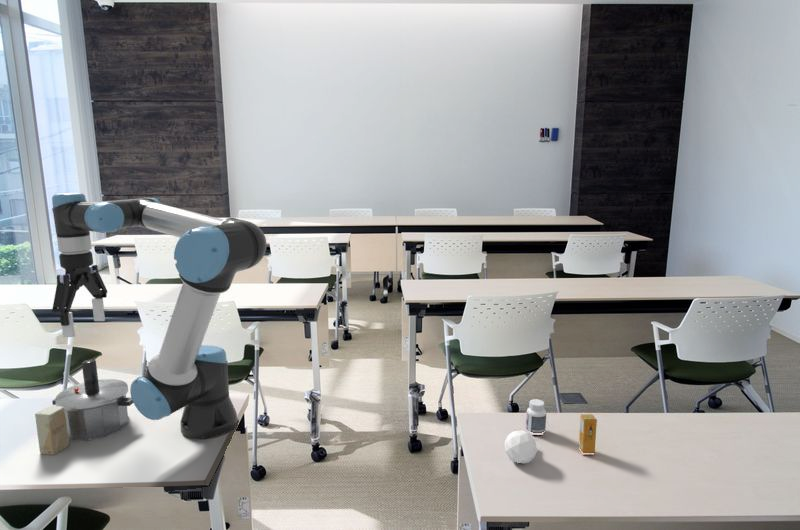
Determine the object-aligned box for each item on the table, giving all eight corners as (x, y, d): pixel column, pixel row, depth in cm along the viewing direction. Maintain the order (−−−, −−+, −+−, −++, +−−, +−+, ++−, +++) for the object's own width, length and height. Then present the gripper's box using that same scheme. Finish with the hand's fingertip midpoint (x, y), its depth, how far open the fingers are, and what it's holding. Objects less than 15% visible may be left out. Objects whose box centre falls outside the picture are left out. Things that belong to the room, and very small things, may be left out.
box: (53, 455, 134) (47, 415, 132) (39, 453, 135) (33, 414, 133) (70, 444, 139) (64, 406, 137) (56, 442, 140) (50, 404, 138)
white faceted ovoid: (495, 451, 130) (503, 434, 141) (521, 476, 128) (527, 456, 139) (515, 430, 128) (522, 414, 139) (542, 455, 126) (546, 436, 137)
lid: (139, 383, 156) (136, 350, 154) (106, 411, 138) (101, 375, 136) (81, 382, 156) (77, 350, 154) (40, 410, 139) (35, 374, 137)
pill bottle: (549, 433, 146) (551, 403, 144) (536, 438, 143) (538, 408, 141) (534, 425, 150) (536, 396, 148) (521, 430, 147) (523, 401, 145)
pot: (148, 412, 157) (145, 384, 155) (119, 440, 141) (115, 409, 139) (76, 411, 157) (72, 383, 155) (39, 439, 141) (34, 408, 140)
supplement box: (590, 448, 138) (593, 413, 136) (594, 455, 135) (597, 420, 132) (577, 448, 138) (580, 413, 136) (581, 455, 135) (584, 419, 133)
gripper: (89, 244, 151) (98, 314, 155) (27, 260, 127) (39, 344, 131) (115, 244, 151) (123, 315, 155) (58, 260, 126) (69, 344, 131)
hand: (85, 328), depth 143 cm, fingers open, 13 cm apart
